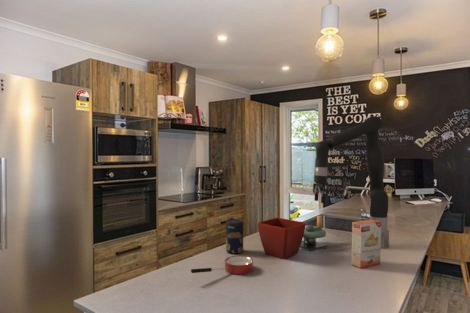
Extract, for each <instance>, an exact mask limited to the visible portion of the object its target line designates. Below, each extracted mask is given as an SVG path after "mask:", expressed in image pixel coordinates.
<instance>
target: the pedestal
mask: <svg viewBox="0 0 470 313" xmlns="http://www.w3.org/2000/svg"><path fill="white" fill-rule="evenodd" d="M327 247H328V244H327V243H323V242H319V241H317V238H304V237H303V239H302V242H301V245H300V248H299V249H303V250H306V251H309V252H315V251H317V250H321V249H325V248H327Z"/></svg>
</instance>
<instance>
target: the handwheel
mask: <svg viewBox="0 0 470 313" xmlns="http://www.w3.org/2000/svg"><path fill="white" fill-rule="evenodd" d="M326 236H327V231H326V230H324V229H323V215H317V216H316V226H314V225H313V224H306V226H305V231H304V235H303V239H304V238H316V239H321V238H322V239H323V238H325V237H326Z"/></svg>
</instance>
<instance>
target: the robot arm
mask: <svg viewBox="0 0 470 313" xmlns="http://www.w3.org/2000/svg"><path fill="white" fill-rule="evenodd" d="M383 125H384V124H383V120H382V118H381V117H379V116H376V115H373V116H372V115H371V116H369V117H367V118H365V119H364V121H363V122H361V123H360V124H357V125H355V126H353V127H351V128H348V129H346V130H343V131H340V132H338V133H336V134H334V135H332V136H330V137H328V138H325V139H323V140H322V141H318V142H317V143H316V144H315V151H316V153H315V154H316V155H315V156H316V158H315V162H314V163H315V164H314V172H313V173H314V176H313V184H312V193H313V194H314V201H316V202H318V201H319V194H320V203H321V204H326V197H328V196H329V194H328V193H329V190H328V189H329V186H328V185H326V184H328V158H329V151H330V150H332V149H334V148H338V147H340V146H343V145H344V144H345V145H346V143H349V142H350V141H353V140H354V139H357V138H359V137H361V136H364V140H365V155H366V157H365V158H366V166H367V174H368V178H369V199H370V209H369V220H376V221H380V222H381V249H386V248H388V247H390V230H389V229H388V213H389V195H388V193H387V191H386V190H385V184H384V173H385V157H384V156H385V155H384V151H383V148H382V146H381V144H380V140H379V131H380V130H381V128H382V127H383Z"/></svg>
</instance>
